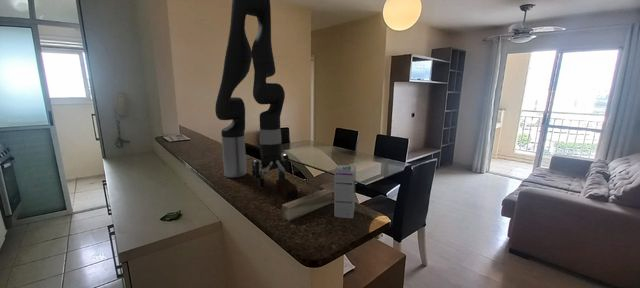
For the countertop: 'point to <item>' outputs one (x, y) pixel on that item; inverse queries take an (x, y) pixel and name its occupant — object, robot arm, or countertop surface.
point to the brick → (287, 189)
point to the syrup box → (344, 191)
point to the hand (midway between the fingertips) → (271, 185)
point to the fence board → (306, 204)
